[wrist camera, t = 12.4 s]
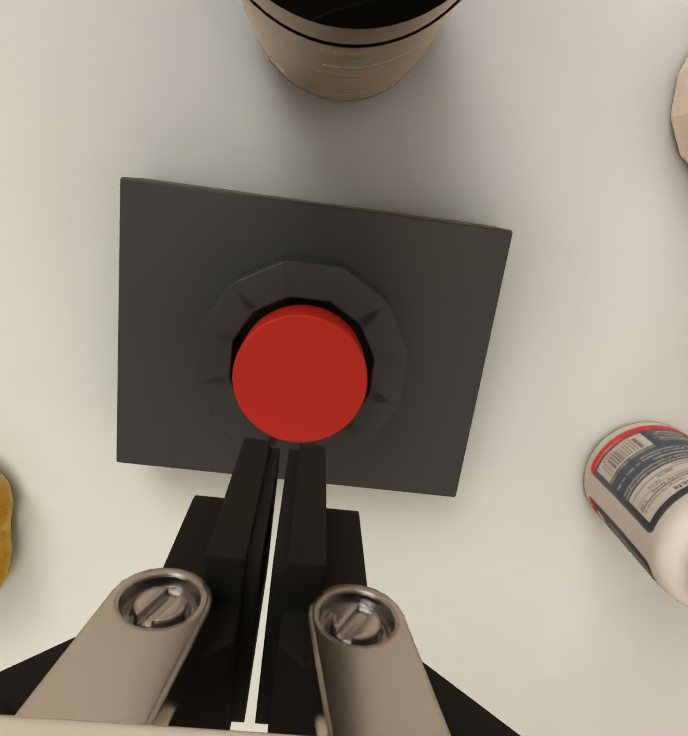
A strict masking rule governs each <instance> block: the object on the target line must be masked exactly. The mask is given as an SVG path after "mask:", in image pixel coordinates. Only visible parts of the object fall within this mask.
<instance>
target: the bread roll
mask: <svg viewBox="0 0 688 736" xmlns="http://www.w3.org/2000/svg"><path fill="white" fill-rule="evenodd" d="M12 511H13V498H12V491H11V488H10V484H9V482H8V481H7V479H6V478H5V476H4V475H3V474H2V473H1V472H0V588H1V586H2V584H3V582H4V579H5V577H6V575H7V573H8V570H9V568H10V563H11V558H12V542H11V517H12Z"/></svg>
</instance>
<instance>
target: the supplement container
mask: <svg viewBox="0 0 688 736" xmlns="http://www.w3.org/2000/svg"><path fill="white" fill-rule="evenodd" d="M460 1H461V0H241V3H242V5H243V7H244V9H245V11H246V14H247V16H248V18H249V20H250V22H251V24H252V27H253V29H254V31H255V33H256V35H257V38H258V40H259V42H260V44H261V46H262V48H263V50H264V51H265V53H266V55H267V56H268V58H269V59H270V61H271V62H272V63H273V64H274V66H275V67H276V68H277V69H278V70H279V71H280V72H281V73H282V75H283V76H285V77H286V78H287V79H288V80H289V81H290V82H292V83H293V84H295V85H296V86H298V87H299V88H301V89H303V90H304V91H306V92H308V93H311V94H313V95H316V96H319V97H322V98H325V99H331V100H341V101H348V100H358V99H363V98H367V97H370V96H373V95H376V94H378V93H381V92H382V91H384V90H386V89H388V88H390V87H391V86H392V85H394V84H395V83H397V82H398V81H399V80H400V79H402V78H403V77H404V76H405V75H406V74H407V73H408V72H409V71H410V70H411V69H412V67H413V66H414V65H415V64H416V62H417V61H418V60H419V58H420V57H421V55H422V54H423V52H424V51H425V50H426V48H427V47H428V45H429V44H430V42H431V41H432V40H433V38H434V37H435V35H436V34H437V32H438V31H439V30H440V28H441V27H442V25H443V24H444V22H445V21H446V20H447V18H448V17H449V15H450V14H451V12H452V11H453V10H454V8H455V7H456V5H457V4H458V3H459V2H460Z"/></svg>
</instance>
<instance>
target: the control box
mask: <svg viewBox="0 0 688 736" xmlns="http://www.w3.org/2000/svg"><path fill="white" fill-rule="evenodd" d="M511 237H512V231H511V230H508V229H503V228H498V227H494V226H487V225H480V224H473V223H465V222H458V221H451V220H443V219H436V218H429V217H422V216H414V215H407V214H400V213H392V212H385V211H378V210H371V209H363V208H356V207H349V206H341V205H334V204H327V203H320V202H312V201H305V200H298V199H291V198H283V197H276V196H269V195H261V194H254V193H247V192H240V191H232V190H225V189H218V188H210V187H203V186H196V185H189V184H181V183H174V182H167V181H159V180H152V179H145V178H131V177H122V178H121V179H120V248H119V320H118V393H117V462H122V463H132V464H141V465H151V466H161V467H170V468H180V469H190V470H199V471H209V472H218V473H228V474H233V471H234V468H235V465H236V462H237V459H238V456H239V453H240V450H241V447H242V443H243V440H244V438H245V437H246V438H255V439H265V440H271V447H274V448H280V459H279V468H278V477H277V479H285V473H286V466H287V459H288V451H289V449H293V450H299V446H300V443H302V444H312V445H321V446H326V484H334V485H344V486H353V487H363V488H373V489H382V490H392V491H402V492H411V493H421V494H430V495H440V496H450V497H455V496H456V492H457V487H458V483H459V478H460V473H461V469H462V464H463V460H464V455H465V450H466V446H467V441H468V436H469V432H470V427H471V423H472V418H473V413H474V409H475V404H476V399H477V395H478V390H479V386H480V381H481V376H482V372H483V367H484V362H485V358H486V353H487V348H488V344H489V339H490V335H491V330H492V325H493V321H494V316H495V311H496V307H497V302H498V298H499V293H500V288H501V284H502V279H503V274H504V270H505V265H506V261H507V256H508V251H509V247H510V242H511ZM300 304H302V305H312V306H318V307H321V308H324V309H326V310H328V311H331V312H333V313H334V314H336V315H337V316H339V317H340V318H342V319H343V320H344V321H345V322H346V323H347V324H348V325H349V326H350V327H351V328H352V330H353V331H354V333H355V334H356V336H357V338H358V340H359V342H360V344H361V347H362V350H363V355H364V359H365V364H366V369H367V379H368V381H367V390H366V394H365V398H364V401H363V403H362V405H361V407H360V409H359V411H358V413H357V414H356V415H355V417H354V418H353V419H352V420H351V421H350V422H349V423H348V424H347V425H346V426H345V427H344V428H343V429H341V430H340V431H338V432H336V433H335V434H333V435H331V436H329V437H327V438H324V439H320V440H317V441H311V442H290V441H285V440H281V439H278V438H275V437H273V436H270V435H268V434H267V433H265V432H263V431H261V430H260V429H259V428H258V427H256V426H255V425H254V424H253V423H252V422H251V421H250V420H249V419H248V418H247V417H246V415H245V414H244V413H243V411H242V410H241V408H240V406H239V404H238V402H237V399H236V397H235V393H234V390H233V382H232V373H233V366H234V362H235V358H236V356H237V353H238V351H239V349H240V347H241V345H242V343H243V342H244V340H245V338H246V336H247V335H248V333H249V331H250V330H251V329H252V327H253V326H254V325H255V324H256V323H257V322H258V321H259V320H260V319H261V318H262V317H264V316H265V315H267V314H268V313H270V312H272V311H274V310H276V309H279V308H282V307H285V306H290V305H300Z"/></svg>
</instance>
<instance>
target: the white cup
mask: <svg viewBox="0 0 688 736" xmlns="http://www.w3.org/2000/svg"><path fill="white" fill-rule="evenodd" d="M670 118H671V122H672V126H673V130H674V134H675V138H676V141H677V145H678V149H679V153H680V156H681V157H682V158H683V159H684V160H685V161H686V162H687V163H688V58H687V59H686V61H685V63H684V64H683V66H682V68H681V69H680V71H679V73H678V76H677V82H676V87H675V93H674V99H673V105H672V110H671V116H670Z"/></svg>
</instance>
